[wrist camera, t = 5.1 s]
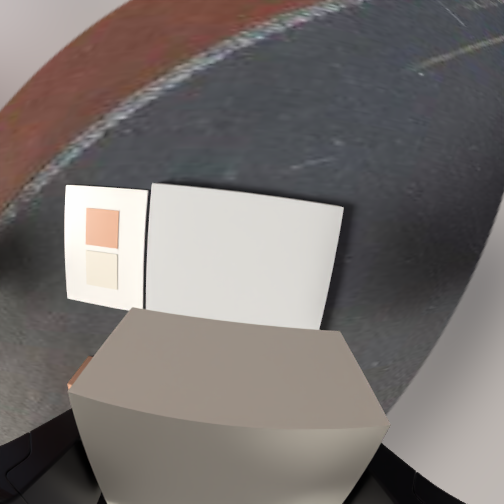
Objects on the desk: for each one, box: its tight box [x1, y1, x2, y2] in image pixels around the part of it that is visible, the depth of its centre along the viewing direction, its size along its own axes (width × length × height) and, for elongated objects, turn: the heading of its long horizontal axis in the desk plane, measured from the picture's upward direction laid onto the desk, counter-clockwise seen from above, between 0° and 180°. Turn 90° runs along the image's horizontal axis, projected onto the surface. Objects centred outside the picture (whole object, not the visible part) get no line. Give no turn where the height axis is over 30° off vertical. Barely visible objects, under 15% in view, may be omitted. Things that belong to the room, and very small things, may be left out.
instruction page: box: [65, 185, 148, 311], centre depth 19 cm, size 8×6×1 cm
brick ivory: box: [68, 307, 390, 504], centre depth 7 cm, size 6×6×4 cm
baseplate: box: [146, 183, 344, 330], centre depth 19 cm, size 11×11×1 cm
